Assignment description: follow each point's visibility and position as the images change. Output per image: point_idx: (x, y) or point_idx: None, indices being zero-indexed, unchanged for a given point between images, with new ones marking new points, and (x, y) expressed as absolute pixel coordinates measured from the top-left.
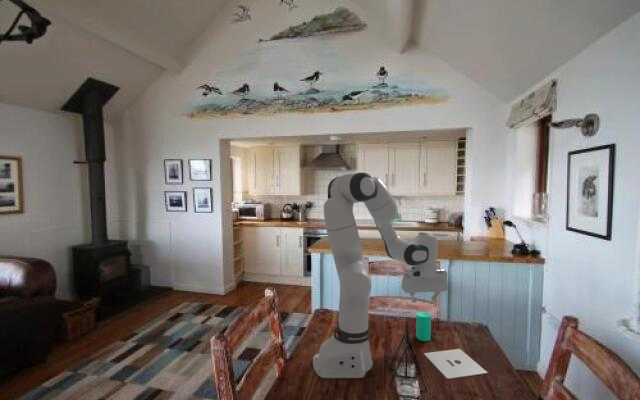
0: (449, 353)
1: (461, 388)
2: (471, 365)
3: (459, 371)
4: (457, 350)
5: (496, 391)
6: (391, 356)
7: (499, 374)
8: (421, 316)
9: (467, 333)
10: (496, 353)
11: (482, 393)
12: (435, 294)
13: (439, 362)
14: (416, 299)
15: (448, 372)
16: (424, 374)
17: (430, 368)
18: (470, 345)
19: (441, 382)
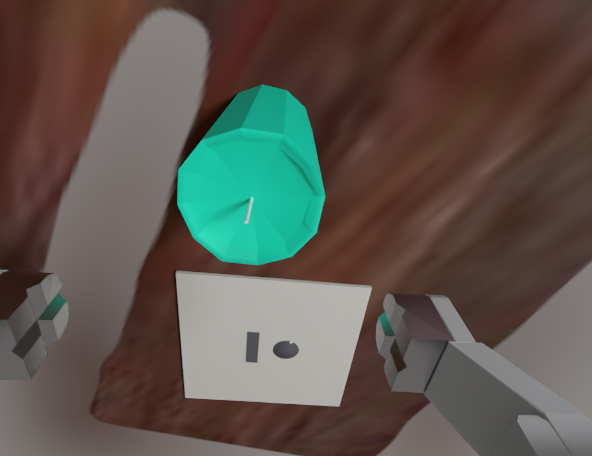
0: (295, 303)
1: (204, 425)
2: (318, 373)
3: (250, 384)
4: (349, 295)
5: (293, 447)
6: (2, 245)
7: (370, 412)
8: (214, 213)
9: (567, 174)
10: (489, 341)
11: (249, 445)
12: (484, 409)
13: (209, 336)
14: (34, 366)
15: (207, 380)
16: (117, 364)
17: (156, 346)
18: (451, 273)
19: (158, 399)
